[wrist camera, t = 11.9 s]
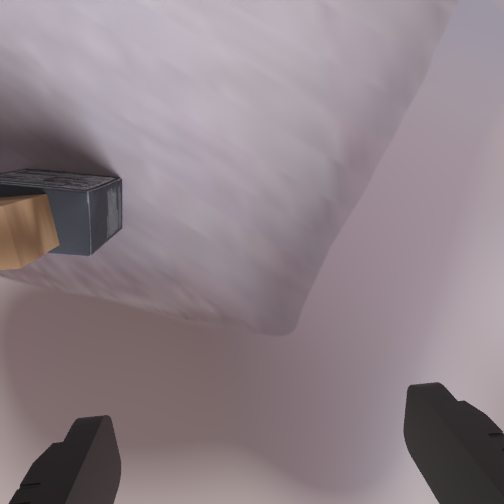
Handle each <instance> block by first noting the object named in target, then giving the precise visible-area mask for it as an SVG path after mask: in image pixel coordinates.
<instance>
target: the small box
mask: <svg viewBox="0 0 504 504" xmlns="http://www.w3.org/2000/svg"><path fill="white" fill-rule="evenodd" d="M37 194H47V196H48V200H49V204H50V208H51V212H52V216H53V220H54V224H55V228H56V232H57V236H58V240H59V244H60V245H59V246H57V247H55V248H54V249H52V250H50V251H49V252H47V254H61V255H74V256H87V257H90V256H91V255H92V254H93V253H94V252H95V251H97V250H98V249H99V248H100V247H101V246H102V245H103V244H104V243H106V242H107V241H108V240H109V239H110V238H111V237H113V236H114V235H115V234H116V233H117V232H118V231H120V230H121V229H122V179H121V178H116V177H107V176H97V175H90V174H89V175H88V174H77V173H67V172H59V171H48V170H35V169H23V170H18V171H12V172H7V173H0V197H12V196H24V195H37Z"/></svg>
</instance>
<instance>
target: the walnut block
mask: <svg viewBox="0 0 504 504" xmlns="http://www.w3.org/2000/svg"><path fill="white" fill-rule="evenodd" d="M59 245H60V244H59V240H58V236H57V232H56V228H55V224H54V220H53V216H52V212H51V208H50V204H49V200H48V196H47V194H37V195H24V196H12V197H0V270H7V269H19V268H22V267H24V266H26V265H27V264H29V263H31V262H32V261H34V260H36V259H37V258H39V257H41V256H42V255H44V254H45V253H47V252H49V251H50V250H52V249H54V248H55V247H57V246H59Z"/></svg>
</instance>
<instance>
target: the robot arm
mask: <svg viewBox="0 0 504 504" xmlns="http://www.w3.org/2000/svg"><path fill="white" fill-rule="evenodd" d="M404 438H405V442H406V445H407V448H408V451H409V453H410V455H411V457H412V458H413V460H414V462H415V463H416V465H417V467H418V468H419V470H420V472H421V473H422V475H423V477H424V478H425V480H426V482H427V483H428V485H429V487H430V488H431V490H432V492H433V494H434V495H435V497H436V499H437V500H438V502H439V503H440V504H504V434H503V431H502V430H501V429H500V428H499V427H498V426H497V425H496V424H495V423H494V422H493V421H492V420H491V419H490V418H489V417H488V416H487V415H486V414H484V413H483V412H481V411H480V410H478V409H477V408H475V407H474V406H472V405H470V404H469V403H467V402H466V401H457V400H456V399H455V398H454V396H452V394H451V393H450V392H449V391H448V390H447V389H446V388H445V387H444V386H443V385H442V384H441V383H438V382H435V383H426V384H416V385H410V386H409V387H408V390H407V399H406V409H405V419H404ZM120 476H121V459H120V455H119V450H118V446H117V442H116V437H115V433H114V428H113V424H112V420H111V418H110V416H108V415H104V416H94V417H85V418H78V419H76V420H75V422H74V423H73V425H72V427H71V428H70V430H69V432H68V434H67V436H66V438H65V439H64V441H63V442H60V443H53V444H52V445H51V446H50V447H49V448H48V449H47V450H46V451H45V452H44V453H43V454H42V455H41V456H40V457H39V458H38V459H37V460H36V461H35V462H34V463H33V464H32V466H31V467H30V469H29V471H28V472H27V474H26V476H25V478H24V479H23V481H22V482H21V484H20V488H19V490H17V491H16V492H15V494H14V496H13V497H12V499H11V501H10V502H9V504H113V503H114V500H115V497H116V493H117V490H118V487H119V482H120Z"/></svg>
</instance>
